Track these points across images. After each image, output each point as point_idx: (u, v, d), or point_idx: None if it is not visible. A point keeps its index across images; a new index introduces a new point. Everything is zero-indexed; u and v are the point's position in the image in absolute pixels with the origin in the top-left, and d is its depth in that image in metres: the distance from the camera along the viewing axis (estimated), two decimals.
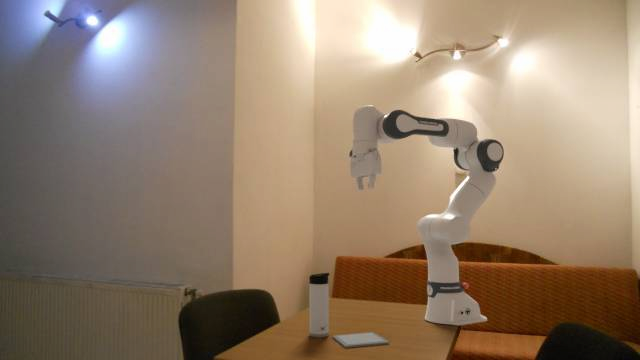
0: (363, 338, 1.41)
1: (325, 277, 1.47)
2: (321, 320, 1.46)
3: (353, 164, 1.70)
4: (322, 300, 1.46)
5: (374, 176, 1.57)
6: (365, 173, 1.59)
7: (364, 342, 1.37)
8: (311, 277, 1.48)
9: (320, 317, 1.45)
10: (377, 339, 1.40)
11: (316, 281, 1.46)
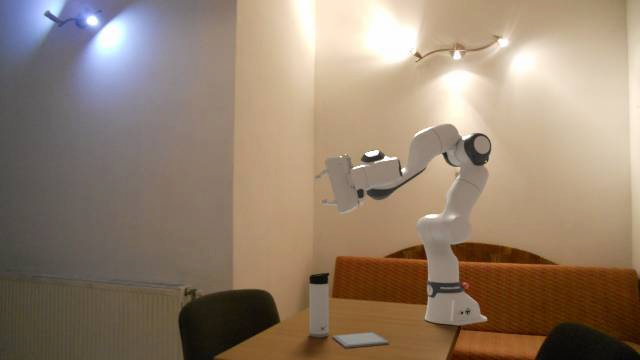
0: (363, 338, 1.41)
1: (325, 277, 1.47)
2: (321, 320, 1.46)
3: None
4: (322, 300, 1.46)
5: None
6: None
7: (364, 342, 1.37)
8: (311, 277, 1.48)
9: (320, 317, 1.45)
10: (377, 339, 1.40)
11: (316, 281, 1.46)
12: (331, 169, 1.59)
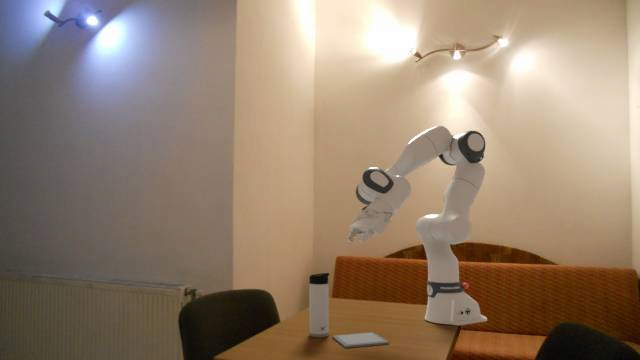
0: (363, 338, 1.41)
1: (325, 277, 1.47)
2: (321, 320, 1.46)
3: (358, 218, 1.68)
4: (322, 300, 1.46)
5: (371, 233, 1.53)
6: (366, 226, 1.56)
7: (364, 342, 1.37)
8: (311, 277, 1.48)
9: (320, 317, 1.45)
10: (377, 339, 1.40)
11: (316, 281, 1.46)
12: None
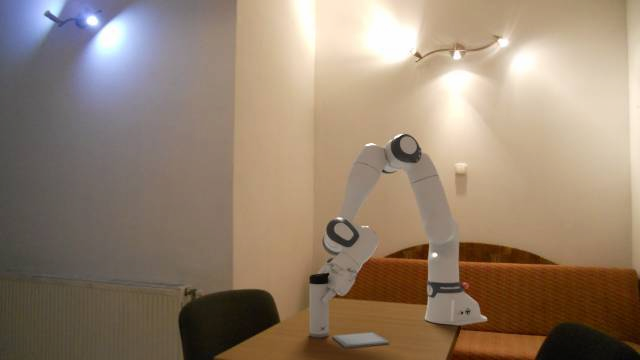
0: (363, 338, 1.41)
1: (325, 277, 1.47)
2: (321, 320, 1.45)
3: (323, 271, 1.58)
4: None
5: (334, 293, 1.45)
6: (329, 285, 1.46)
7: (364, 342, 1.37)
8: (311, 277, 1.48)
9: (320, 317, 1.45)
10: (377, 339, 1.40)
11: (316, 281, 1.46)
12: None
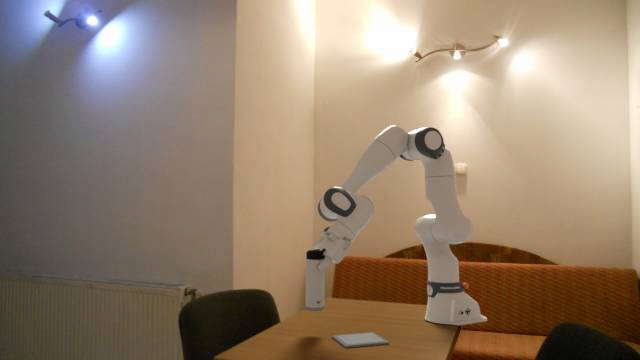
0: (363, 338, 1.41)
1: (322, 253, 1.50)
2: (317, 295, 1.49)
3: (320, 239, 1.61)
4: (318, 275, 1.49)
5: (329, 261, 1.48)
6: (325, 253, 1.49)
7: (364, 342, 1.37)
8: (308, 252, 1.51)
9: (316, 292, 1.49)
10: (377, 339, 1.40)
11: (313, 256, 1.50)
12: None
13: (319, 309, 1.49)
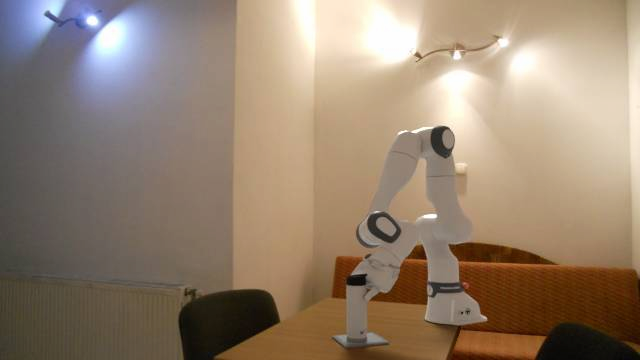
0: None
1: (364, 278, 1.39)
2: (361, 324, 1.38)
3: (361, 267, 1.52)
4: (361, 303, 1.38)
5: (377, 291, 1.38)
6: (370, 282, 1.40)
7: (364, 342, 1.37)
8: (349, 278, 1.39)
9: (359, 321, 1.38)
10: (377, 339, 1.40)
11: (355, 282, 1.38)
12: None
13: (363, 340, 1.37)
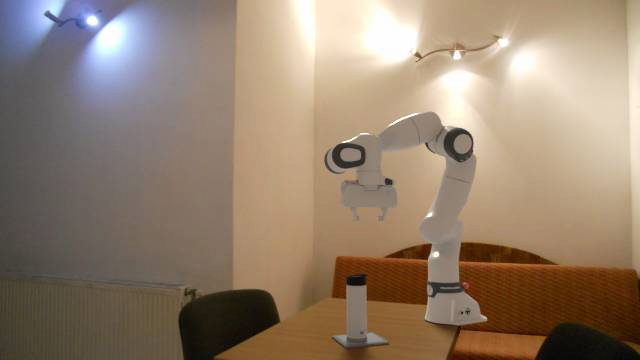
0: None
1: (364, 278, 1.39)
2: (361, 324, 1.38)
3: None
4: (361, 303, 1.38)
5: (352, 209, 1.54)
6: None
7: (364, 342, 1.37)
8: (349, 278, 1.39)
9: (359, 321, 1.38)
10: (377, 339, 1.40)
11: (354, 282, 1.38)
12: (355, 202, 1.53)
13: (363, 340, 1.37)
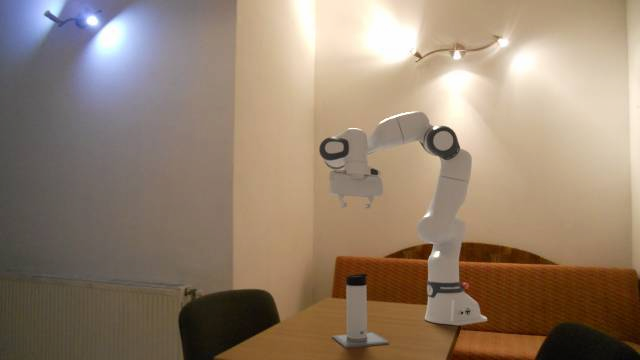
0: None
1: (364, 278, 1.39)
2: (361, 324, 1.38)
3: None
4: (361, 303, 1.38)
5: (339, 196, 1.66)
6: None
7: (364, 342, 1.37)
8: (349, 278, 1.39)
9: (359, 321, 1.38)
10: (377, 339, 1.40)
11: (355, 282, 1.38)
12: (343, 190, 1.66)
13: (363, 340, 1.37)
